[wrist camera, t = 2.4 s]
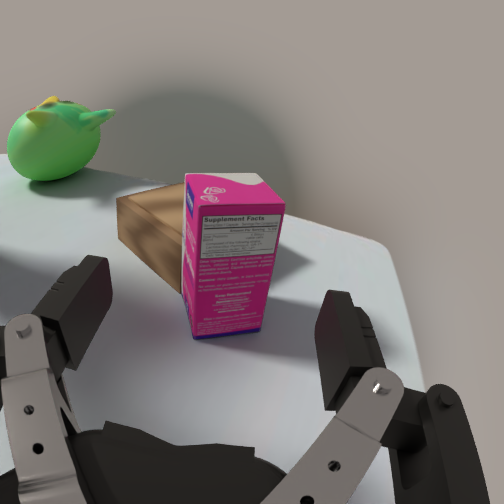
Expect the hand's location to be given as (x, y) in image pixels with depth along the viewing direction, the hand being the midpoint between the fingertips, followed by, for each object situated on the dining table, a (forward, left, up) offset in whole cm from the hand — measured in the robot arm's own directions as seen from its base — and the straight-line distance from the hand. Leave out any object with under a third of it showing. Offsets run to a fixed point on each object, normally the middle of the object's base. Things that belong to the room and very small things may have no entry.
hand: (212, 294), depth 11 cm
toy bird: (-50, +8, -12) cm, 52 cm away
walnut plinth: (-17, +14, -11) cm, 25 cm away
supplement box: (-7, +9, -12) cm, 16 cm away
